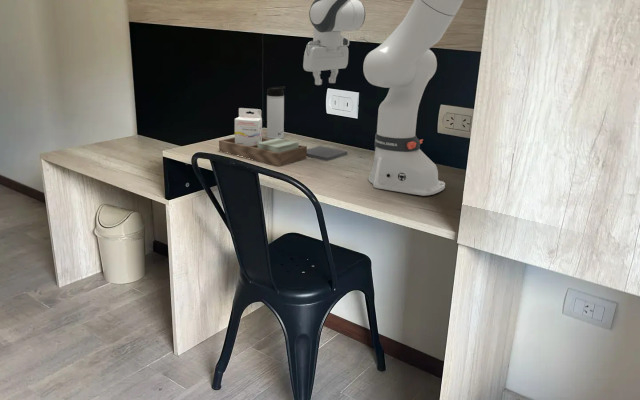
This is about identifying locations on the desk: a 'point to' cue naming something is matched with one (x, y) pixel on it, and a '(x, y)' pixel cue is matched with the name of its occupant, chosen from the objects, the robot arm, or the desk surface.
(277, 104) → the travel mug
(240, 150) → the wooden tray
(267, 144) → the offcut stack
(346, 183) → the desk surface
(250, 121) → the ink cartridge box
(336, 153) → the mat
